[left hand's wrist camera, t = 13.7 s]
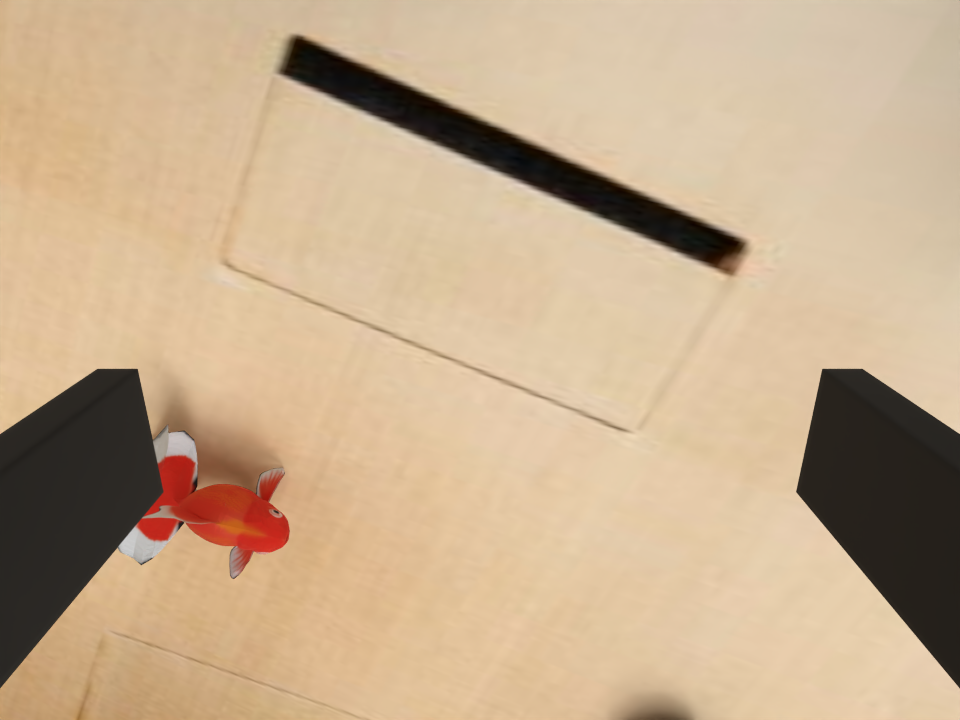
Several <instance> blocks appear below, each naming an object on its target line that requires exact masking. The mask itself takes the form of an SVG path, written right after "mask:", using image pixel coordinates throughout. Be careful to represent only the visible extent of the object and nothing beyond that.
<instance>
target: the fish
mask: <svg viewBox="0 0 960 720" xmlns="http://www.w3.org/2000/svg"><path fill="white" fill-rule="evenodd" d="M153 444H154V449H155V453H156V458H157V463H158V467H159V472H160V477H161V481H162V486H163V491H164V492H163V494H162V495H161V496H160V497H159V498H158V500H157V501H156V502H155V503H154V504H153V506H152V507H151V508H150V509H149V510H148V512H147V513H146V514H145V515H144V516H143V518H142V519H141V520H140V521H139V522H138V523H137V525H136V526H135V527H134V528H133V529H132V531H131V532H130V533H129V534H128V535H127V537H126V538H125V539H124V540H123V541H122V543H121V544H120V545H119V546H118V547H117V548H118V549H119V551H120V552H121V553H123V554H125V555H128V556H130V557H132V558H134V559H135V560H136V561H137V562H138V563H139V564H141V565H142V564H144V563H146V562H147V561H149V560H151V559H152V558H153V557H155V556H156V555H157V554H158V553H159V552H160V551H161V550H162V549H163V548H164V547H165V545H166V544H167V543H168V542H169V541H170V540H171V538H172V537H173V536H174V535H175V534H176V532H177V531H178V530H179V529H180V527H181V526H182V525H183V524H184V522H186V524H187V526H188V527H189V528H190V529H191V530H192V531H193V532H194V533H196V534H197V535H198V536H200V537H201V538H203V539H205V540H207V541H209V542H212V543H214V544H218V545H222V546H235V547H234V548H233V549H232V550H231V553H230V576H231V578H233V579H234V578H236V577H237V576H238V575H239V574H240V573H241V572H242V571H243V569H244V567H245V566H246V564H247V563H248V562H249V561H250V559H251V556H252V554H253V552H254V551H255V552H256V553H258V554H267V553H270V552H273V551H275V550H277V549H280V548H282V547H283V546H284V545H285V544H286V543H287V541H288V539H289V532H290V530H289V524H288V521H287V518H286V517H285V516H284V515H283V514H282V513H281V512H280V511H279V510H277V509H276V508H275V507H274V506H273V505H272V504H270V503H269V501H270V499H271V497H272V495H273V493H274V491H275V489H276V488H277V486H278V484H279V482H280V480H281V479H282V477H283V476H284V474H285V472H284V469H283V468H274V469H271V470H268V471H265V472H263V473H262V474H261V475H260V477H259V480H258V484H257V489H256V494H255V493H254V492H252V491H250V490H248V489H246V488H243V487H240V486H236V485H229V484H217V485H212V486H208V487H205V488H202V489H200V490H196V488H197V453H196V447H195V442H194V439H193V438H192V437H191V436H189V435H188V434H187V433H186V432H185V431H179V432H172V433H169V429H168V425H167V426H166V427H165V428H164V429H163V430H162V431H161V432H160V434H159V435H158V436H157V437H156V438H155V439H154V440H153Z"/></svg>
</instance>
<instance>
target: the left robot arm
mask: <svg viewBox="0 0 960 720" xmlns="http://www.w3.org/2000/svg"><path fill="white" fill-rule="evenodd" d="M163 492H164V491H163V486H162V481H161V477H160V472H159V467H158V463H157V458H156V453H155V449H154V444H153V439H152V434H151V430H150V425H149V420H148V416H147V411H146V406H145V402H144V397H143V392H142V387H141V383H140V378H139V373H138V369H97V370H95V371H94V372H92V373H91V374H89V375H88V376H86V377H85V378H83V379H82V380H80V381H79V382H77V383H76V384H74V385H73V386H71V387H70V388H68V389H67V390H65V391H64V392H62V393H61V394H59V395H58V396H57V397H55V398H54V399H52V400H51V401H49V402H48V403H46V404H45V405H43V406H42V407H40V408H39V409H37V410H36V411H34V412H33V413H31V414H30V415H28V416H27V417H25V418H24V419H22V420H21V421H19V422H18V423H16V424H15V425H13V426H12V427H10V428H9V429H7V430H6V431H4V432H3V433H1V434H0V688H1V687H2V685H3V684H4V683H5V682H6V681H7V679H8V678H9V677H10V676H11V675H12V673H13V672H14V671H15V670H16V669H17V667H18V666H19V665H20V664H21V663H22V661H23V660H24V659H25V658H26V657H27V655H28V654H29V653H30V652H31V651H32V649H33V648H34V647H35V646H36V645H37V643H38V642H39V641H40V640H41V639H42V637H43V636H44V635H45V634H46V633H47V631H48V630H49V629H50V628H51V627H52V625H53V624H54V623H55V622H56V621H57V619H58V618H59V617H60V616H61V615H62V613H63V612H64V611H65V610H66V609H67V607H68V606H69V605H70V604H71V603H72V601H73V600H74V599H75V598H76V597H77V595H78V594H79V593H80V592H81V591H82V589H83V588H84V587H85V586H86V585H87V583H88V582H89V581H90V580H91V579H92V577H93V576H94V575H95V574H96V573H97V571H98V570H99V569H100V568H101V567H102V565H103V564H104V563H105V562H106V561H107V559H108V558H109V557H110V556H111V555H112V553H113V552H114V551H115V550H116V549H117V547H118V546H119V545H120V544H121V543H122V541H123V540H124V539H125V538H126V537H127V535H128V534H129V533H130V532H131V531H132V529H133V528H134V527H135V526H136V525H137V523H138V522H139V521H140V520H141V519H142V518H143V516H144V515H145V514H146V513H147V512H148V510H149V509H150V508H151V507H152V506H153V504H154V503H155V502H156V501H157V500H158V498H159V497H160V496H161V495H162V494H163ZM796 492H797V494H798V495H799V496H800V497H801V498H802V500H803V501H804V502H805V503H806V504H807V506H808V507H809V508H810V509H811V510H812V512H813V513H814V514H815V515H816V516H817V518H818V519H819V520H820V521H821V522H822V523H823V525H824V526H825V527H826V528H827V529H828V531H829V532H830V533H831V534H832V535H833V537H834V538H835V539H836V540H837V541H838V543H839V544H840V545H841V546H842V547H843V549H844V550H845V551H846V552H847V553H848V555H849V556H850V557H851V558H852V559H853V561H854V562H855V563H856V564H857V565H858V567H859V568H860V569H861V570H862V571H863V573H864V574H865V575H866V576H867V577H868V579H869V580H870V581H871V582H872V583H873V585H874V586H875V587H876V588H877V589H878V591H879V592H880V593H881V594H882V595H883V597H884V598H885V599H886V600H887V601H888V603H889V604H890V605H891V606H892V607H893V609H894V610H895V611H896V612H897V613H898V615H899V616H900V617H901V618H902V619H903V621H904V622H905V623H906V624H907V625H908V627H909V628H910V629H911V630H912V631H913V633H914V634H915V635H916V636H917V637H918V639H919V640H920V641H921V642H922V643H923V645H924V646H925V647H926V648H927V649H928V651H929V652H930V653H931V654H932V655H933V657H934V658H935V659H936V660H937V661H938V663H939V664H940V665H941V666H942V667H943V669H944V670H945V671H946V672H947V673H948V675H949V676H950V677H951V678H952V679H953V681H954V682H955V683H956V684H957V685H958V687H959V688H960V434H959V433H957V432H956V431H954V430H953V429H951V428H950V427H948V426H947V425H945V424H944V423H942V422H941V421H939V420H938V419H936V418H935V417H933V416H932V415H930V414H929V413H927V412H926V411H924V410H923V409H921V408H920V407H918V406H917V405H915V404H914V403H912V402H911V401H909V400H908V399H906V398H905V397H903V396H902V395H901V394H899V393H898V392H896V391H895V390H893V389H892V388H890V387H889V386H887V385H886V384H884V383H883V382H881V381H880V380H878V379H877V378H875V377H874V376H872V375H871V374H869V373H868V372H866V371H865V370H863V369H822V373H821V378H820V383H819V387H818V392H817V397H816V402H815V406H814V411H813V416H812V420H811V425H810V430H809V434H808V439H807V444H806V449H805V453H804V458H803V463H802V467H801V472H800V477H799V481H798V486H797V491H796Z"/></svg>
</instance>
